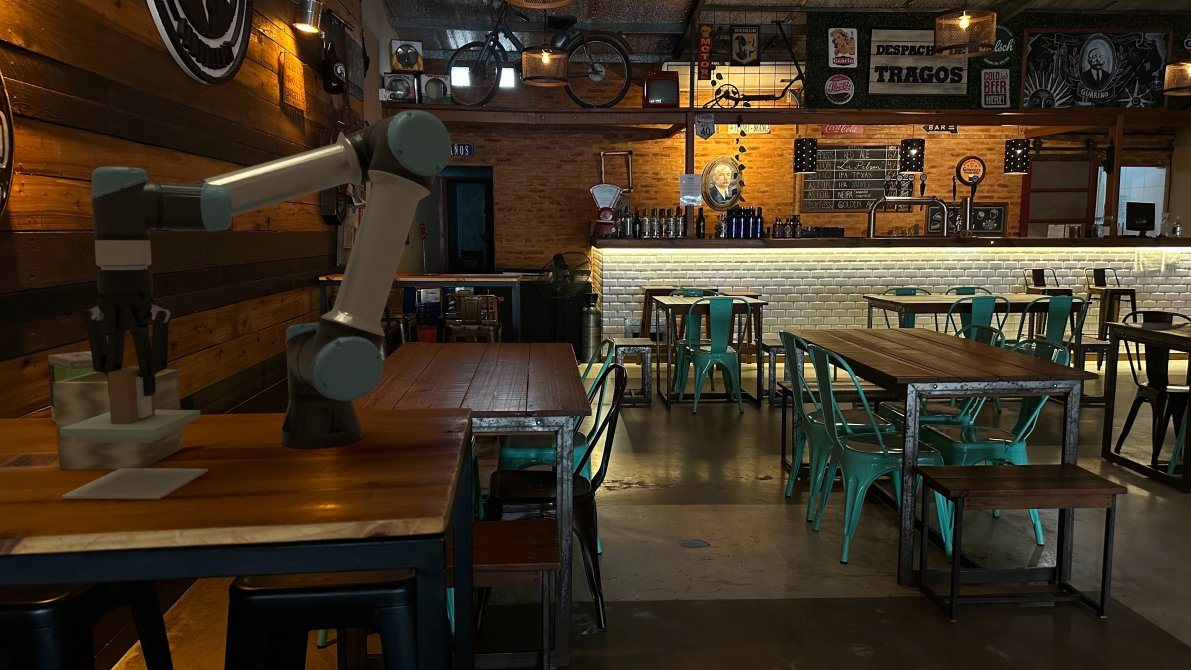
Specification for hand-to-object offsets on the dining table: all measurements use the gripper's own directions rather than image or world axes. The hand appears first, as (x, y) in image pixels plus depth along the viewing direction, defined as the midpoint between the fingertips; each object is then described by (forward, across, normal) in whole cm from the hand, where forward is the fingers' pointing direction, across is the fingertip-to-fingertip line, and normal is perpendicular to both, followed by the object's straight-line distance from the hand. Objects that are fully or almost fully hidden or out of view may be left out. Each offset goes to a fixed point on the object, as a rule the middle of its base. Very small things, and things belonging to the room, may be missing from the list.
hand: (133, 415), depth 131 cm
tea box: (+12, +36, -43) cm, 57 cm away
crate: (+11, +11, -15) cm, 22 cm away
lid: (+3, 0, 0) cm, 3 cm away
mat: (+11, 0, 0) cm, 11 cm away
